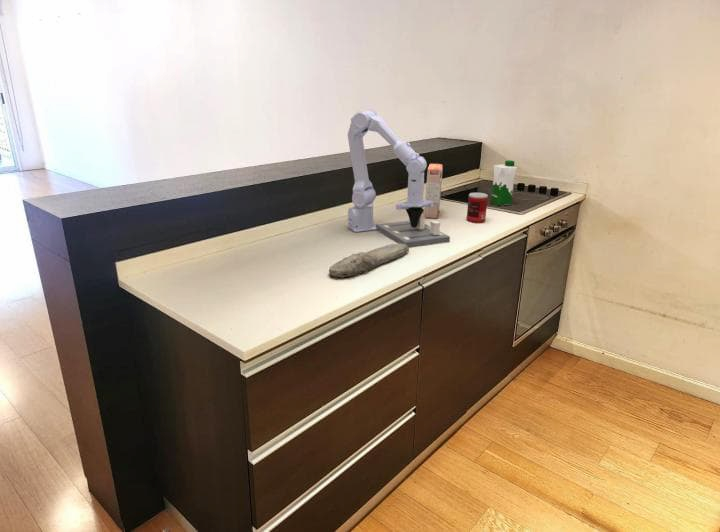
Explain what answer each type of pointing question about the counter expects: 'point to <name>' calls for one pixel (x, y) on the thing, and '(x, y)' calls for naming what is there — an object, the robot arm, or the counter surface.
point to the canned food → (477, 207)
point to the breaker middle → (421, 223)
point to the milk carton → (503, 183)
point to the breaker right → (435, 227)
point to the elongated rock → (367, 260)
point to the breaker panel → (411, 234)
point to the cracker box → (433, 190)
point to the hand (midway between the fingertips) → (413, 226)
